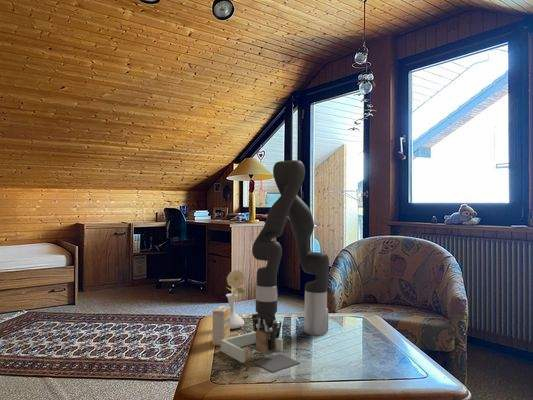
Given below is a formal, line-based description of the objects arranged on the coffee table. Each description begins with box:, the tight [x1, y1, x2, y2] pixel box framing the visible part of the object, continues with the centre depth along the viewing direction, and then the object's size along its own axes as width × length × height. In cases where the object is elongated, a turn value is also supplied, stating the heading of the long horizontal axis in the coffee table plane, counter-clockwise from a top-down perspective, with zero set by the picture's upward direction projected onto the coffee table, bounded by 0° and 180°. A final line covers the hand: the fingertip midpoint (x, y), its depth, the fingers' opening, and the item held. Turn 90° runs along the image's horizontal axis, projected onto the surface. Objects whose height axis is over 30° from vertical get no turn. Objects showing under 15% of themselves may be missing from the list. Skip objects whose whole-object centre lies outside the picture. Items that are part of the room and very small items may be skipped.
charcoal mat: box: [253, 353, 301, 374], centre depth 134 cm, size 12×10×1 cm
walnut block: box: [255, 328, 277, 356], centre depth 138 cm, size 5×5×7 cm
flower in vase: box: [225, 269, 247, 330], centre depth 172 cm, size 13×11×25 cm
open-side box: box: [220, 331, 284, 364], centre depth 144 cm, size 18×14×4 cm
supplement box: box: [211, 305, 231, 347], centre depth 153 cm, size 8×5×13 cm, turn 168°
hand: (265, 347), depth 138 cm, fingers closed on walnut block, 5 cm apart
